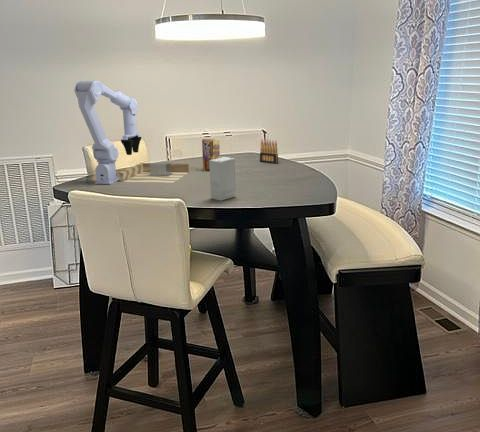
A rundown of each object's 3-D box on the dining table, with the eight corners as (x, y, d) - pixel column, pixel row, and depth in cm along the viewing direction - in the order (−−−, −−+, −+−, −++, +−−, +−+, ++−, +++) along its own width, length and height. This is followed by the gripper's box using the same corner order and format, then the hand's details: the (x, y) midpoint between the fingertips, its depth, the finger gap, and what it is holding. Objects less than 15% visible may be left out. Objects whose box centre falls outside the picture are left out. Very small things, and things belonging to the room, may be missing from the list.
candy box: (221, 171, 242) (219, 139, 238) (213, 173, 239) (212, 140, 235) (209, 169, 249) (208, 138, 244) (202, 170, 246) (201, 139, 242)
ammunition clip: (259, 162, 265) (259, 139, 262) (261, 161, 267) (261, 138, 264) (276, 164, 259) (276, 140, 255) (278, 163, 260) (278, 140, 257)
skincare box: (225, 194, 196) (224, 156, 192) (236, 196, 192) (235, 157, 188) (209, 198, 190) (208, 159, 186) (221, 201, 186) (219, 161, 182)
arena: (173, 184, 216) (172, 173, 215) (120, 183, 221) (119, 172, 220) (189, 173, 239) (188, 163, 238) (141, 172, 244) (140, 163, 243)
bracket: (150, 175, 233) (149, 164, 231) (154, 172, 238) (154, 162, 236) (166, 175, 231) (165, 164, 229) (170, 173, 236) (170, 162, 234)
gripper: (132, 125, 226) (134, 156, 230) (144, 122, 240) (146, 151, 244) (117, 125, 228) (119, 156, 232) (130, 122, 241) (132, 151, 245)
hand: (132, 153), depth 238 cm, fingers open, 7 cm apart
